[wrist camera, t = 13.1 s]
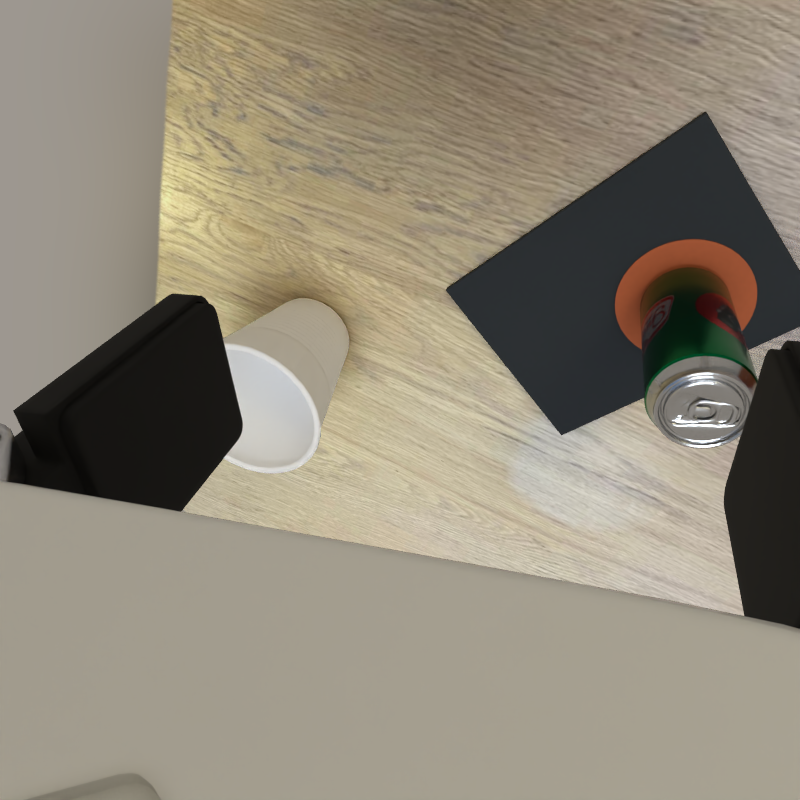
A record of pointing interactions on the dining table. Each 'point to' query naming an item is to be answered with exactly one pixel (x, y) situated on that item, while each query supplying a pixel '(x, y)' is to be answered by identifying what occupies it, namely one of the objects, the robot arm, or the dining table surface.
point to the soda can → (694, 359)
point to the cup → (285, 383)
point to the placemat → (627, 274)
